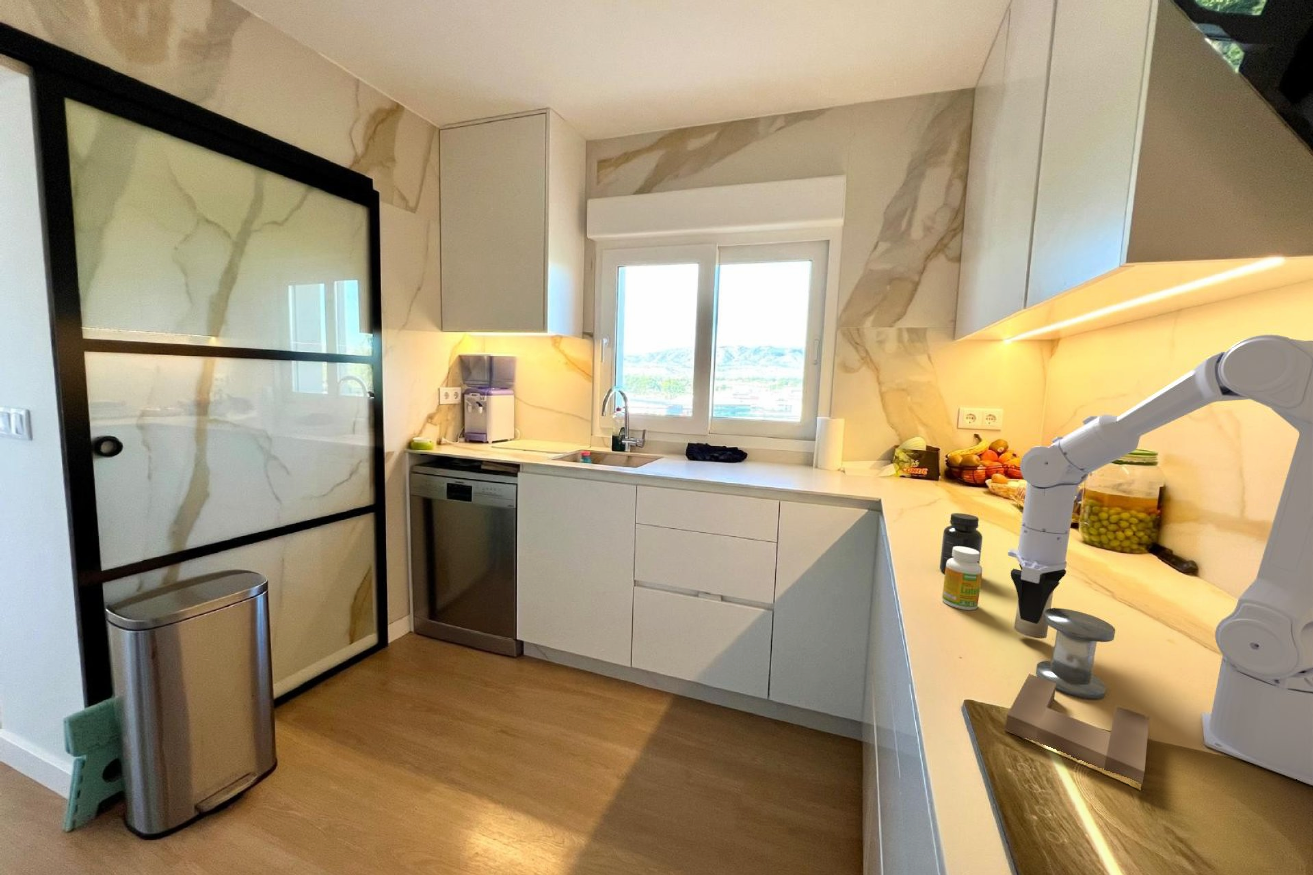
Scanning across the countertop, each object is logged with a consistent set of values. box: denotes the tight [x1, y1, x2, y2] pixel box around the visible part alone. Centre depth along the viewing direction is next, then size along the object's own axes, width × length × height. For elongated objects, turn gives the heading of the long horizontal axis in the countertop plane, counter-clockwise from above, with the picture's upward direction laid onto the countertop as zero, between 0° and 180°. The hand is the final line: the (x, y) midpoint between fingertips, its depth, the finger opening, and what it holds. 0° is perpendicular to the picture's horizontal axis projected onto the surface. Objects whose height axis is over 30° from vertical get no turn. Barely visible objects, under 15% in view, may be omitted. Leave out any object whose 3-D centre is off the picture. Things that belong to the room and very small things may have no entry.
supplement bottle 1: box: [939, 512, 983, 575], centre depth 105 cm, size 7×7×12 cm
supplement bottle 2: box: [941, 546, 983, 611], centre depth 90 cm, size 5×5×10 cm
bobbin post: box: [1035, 607, 1116, 701], centre depth 67 cm, size 7×7×8 cm
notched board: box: [1004, 673, 1150, 786], centre depth 57 cm, size 11×12×2 cm
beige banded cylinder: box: [1013, 591, 1054, 640], centre depth 78 cm, size 4×4×8 cm
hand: (1032, 616), depth 78 cm, fingers closed on beige banded cylinder, 4 cm apart
